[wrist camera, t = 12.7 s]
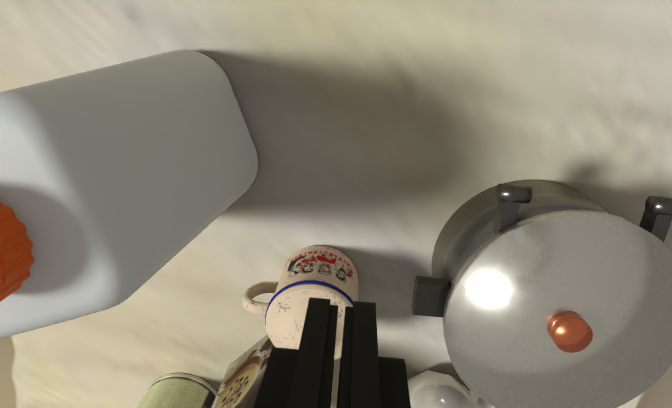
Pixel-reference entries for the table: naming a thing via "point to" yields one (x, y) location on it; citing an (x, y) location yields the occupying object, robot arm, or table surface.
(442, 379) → the potion bottle
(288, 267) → the teacup with lid
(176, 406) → the coffee can
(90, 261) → the plastic bottle
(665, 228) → the pot
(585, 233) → the lid
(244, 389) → the coffee box
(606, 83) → the table surface
